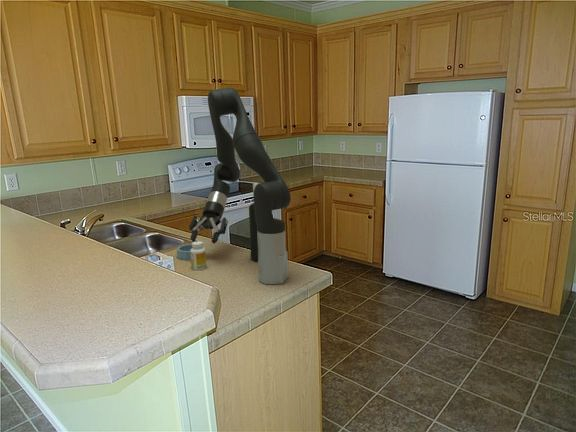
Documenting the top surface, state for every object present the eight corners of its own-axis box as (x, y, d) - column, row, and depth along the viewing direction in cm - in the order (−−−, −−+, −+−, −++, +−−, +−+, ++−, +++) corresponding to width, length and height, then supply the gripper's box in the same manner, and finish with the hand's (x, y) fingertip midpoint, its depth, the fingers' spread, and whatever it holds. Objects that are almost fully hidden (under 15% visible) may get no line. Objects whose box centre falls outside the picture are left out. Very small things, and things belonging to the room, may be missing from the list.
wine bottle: (267, 257, 156) (265, 182, 149) (263, 262, 151) (260, 184, 144) (253, 256, 158) (250, 181, 151) (248, 261, 152) (245, 183, 145)
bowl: (207, 253, 163) (206, 245, 162) (195, 261, 153) (194, 252, 152) (185, 251, 165) (185, 243, 165) (172, 259, 156) (171, 250, 155)
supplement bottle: (208, 265, 148) (207, 241, 146) (202, 270, 143) (200, 245, 141) (196, 264, 149) (194, 240, 147) (189, 269, 144) (187, 244, 142)
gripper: (195, 199, 155) (181, 235, 147) (228, 201, 151) (216, 238, 143) (202, 209, 161) (190, 245, 153) (235, 211, 157) (223, 247, 149)
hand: (202, 241), depth 148 cm, fingers open, 8 cm apart
